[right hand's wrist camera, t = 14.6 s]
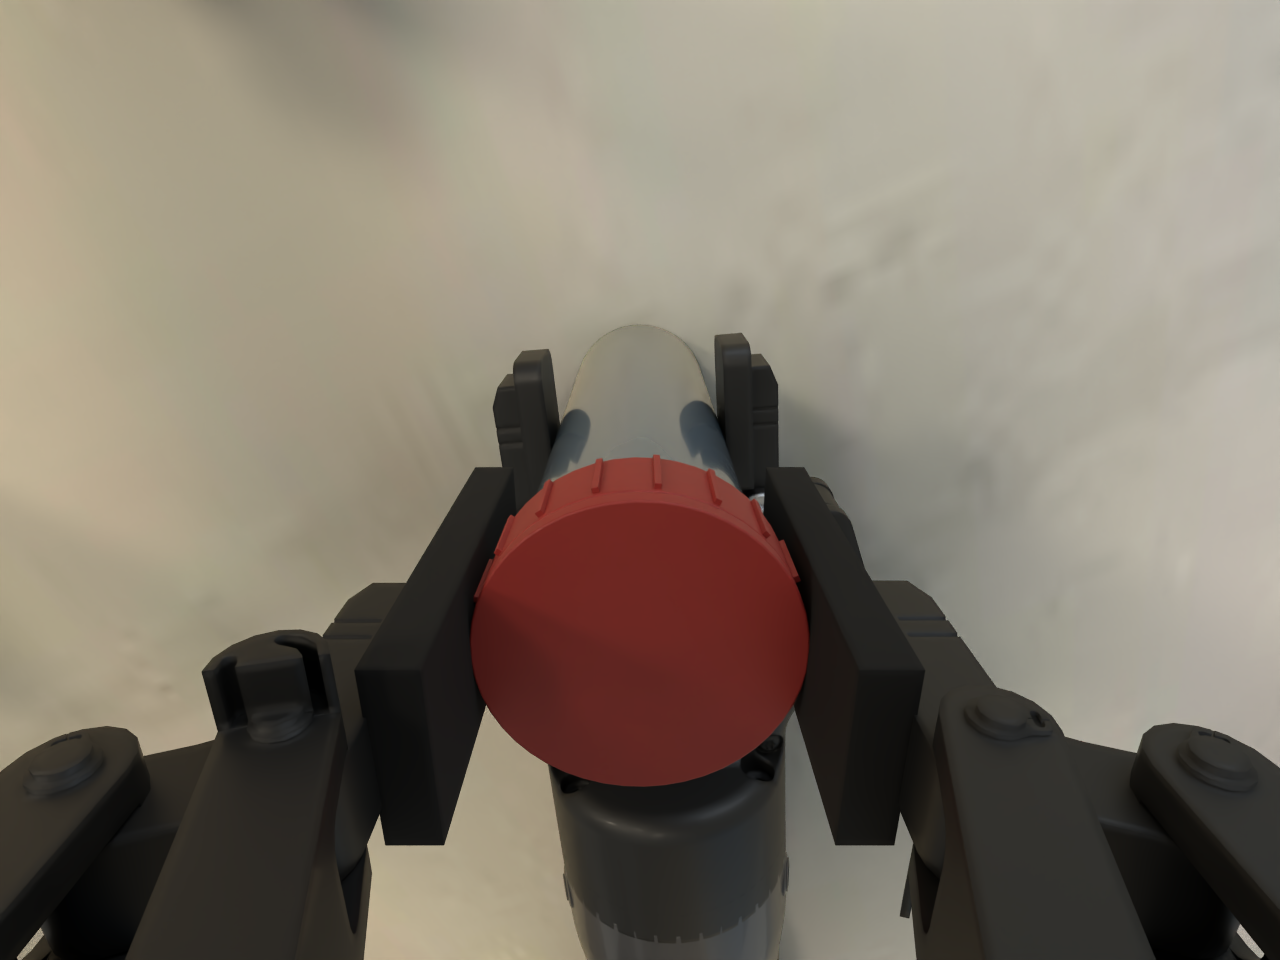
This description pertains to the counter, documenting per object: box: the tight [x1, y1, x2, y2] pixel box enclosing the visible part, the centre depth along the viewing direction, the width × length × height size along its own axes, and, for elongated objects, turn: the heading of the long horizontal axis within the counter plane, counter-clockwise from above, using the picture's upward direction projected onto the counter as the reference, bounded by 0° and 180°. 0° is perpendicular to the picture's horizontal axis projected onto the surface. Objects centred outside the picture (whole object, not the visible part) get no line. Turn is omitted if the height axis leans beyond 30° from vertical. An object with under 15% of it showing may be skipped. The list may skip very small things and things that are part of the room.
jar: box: [537, 325, 742, 493], centre depth 18 cm, size 4×4×15 cm
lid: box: [470, 454, 810, 787], centre depth 11 cm, size 5×5×2 cm
